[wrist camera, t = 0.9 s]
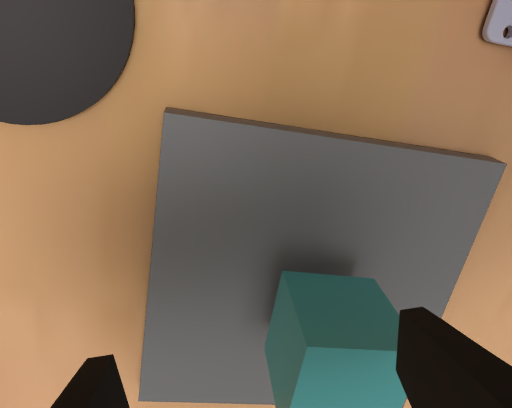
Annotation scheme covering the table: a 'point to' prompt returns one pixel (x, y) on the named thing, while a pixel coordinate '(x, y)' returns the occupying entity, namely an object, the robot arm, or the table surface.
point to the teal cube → (333, 343)
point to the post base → (289, 239)
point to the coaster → (60, 56)
